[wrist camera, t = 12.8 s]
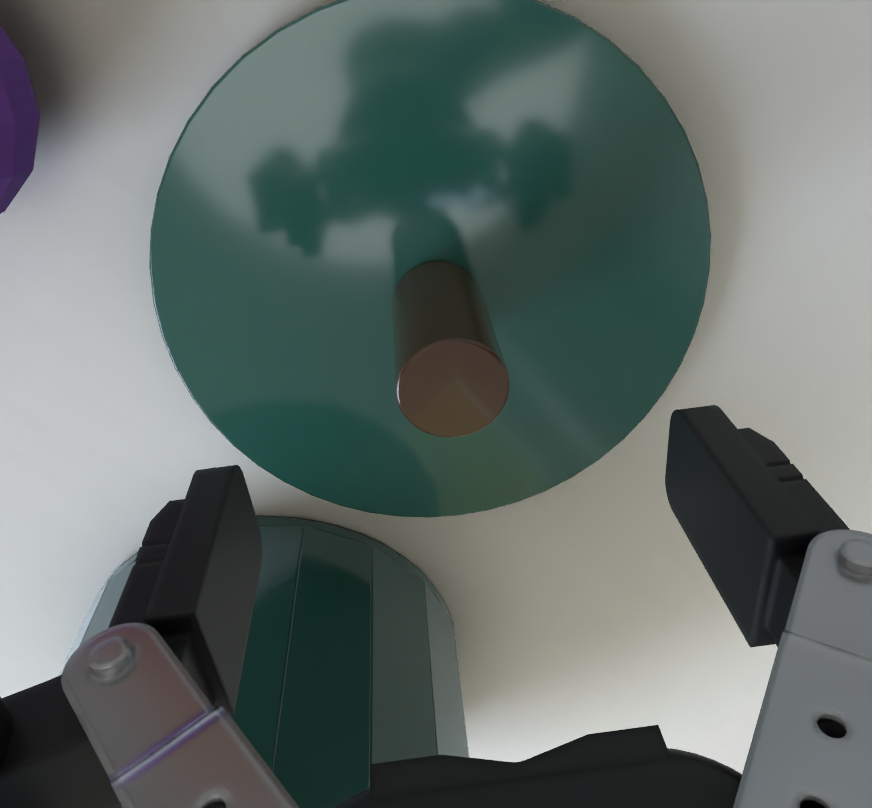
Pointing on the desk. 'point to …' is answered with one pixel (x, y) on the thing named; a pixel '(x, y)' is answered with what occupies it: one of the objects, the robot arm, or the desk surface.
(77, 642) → the pot
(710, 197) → the desk surface
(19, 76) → the kendama
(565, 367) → the lid
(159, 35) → the desk surface
